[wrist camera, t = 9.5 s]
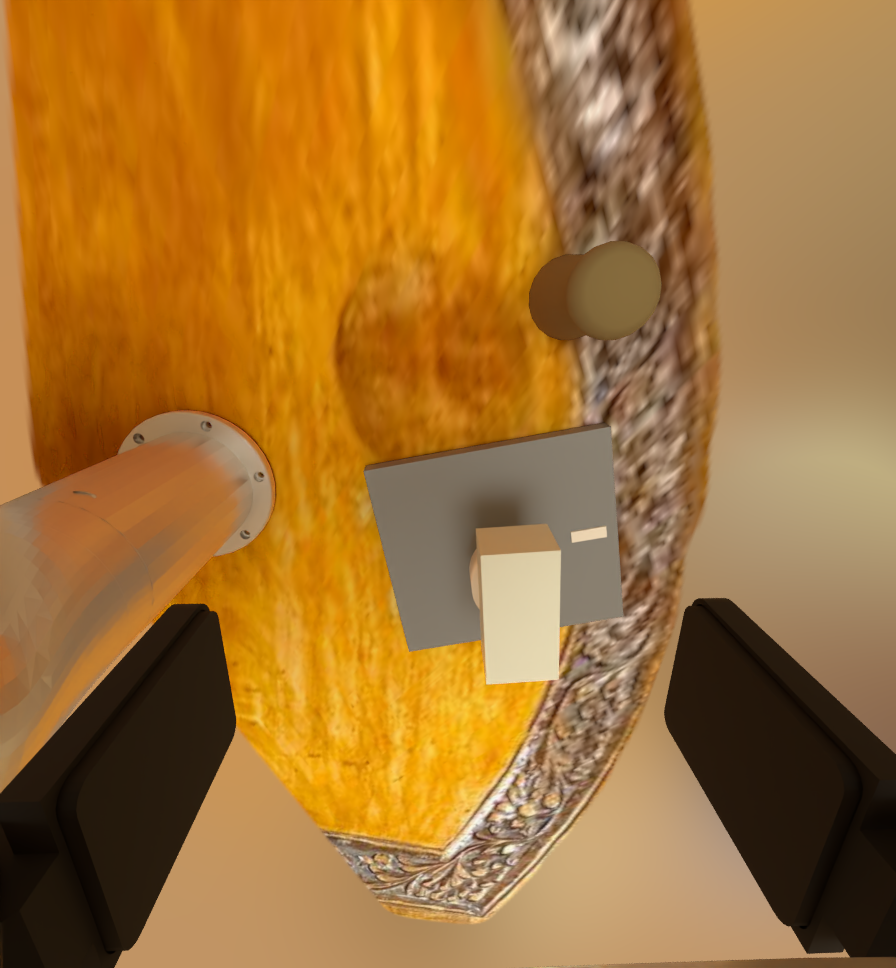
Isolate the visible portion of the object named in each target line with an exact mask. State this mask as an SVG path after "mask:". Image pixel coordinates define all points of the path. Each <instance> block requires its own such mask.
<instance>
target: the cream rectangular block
mask: <svg viewBox="0 0 896 968" xmlns="http://www.w3.org/2000/svg"><path fill="white" fill-rule="evenodd" d="M476 545H477V549H476V550H475V551H474V553H473V555H472V557H471V560H470V565H469V572H470V580H471V588H472V595H473V599H474V601H475V604H476V605H477V607H478V608H479V609H480V628H481V647H482V655H483V662H484V670H485V677H486V684H500V683H515V682H530V681H546V680H559V631H560V576H561V549H560V548H559V546H558V544H557V542H556V540H555V538H554V536H553V534H552V532H551V531H550V529H549V527H548V525H547V524H536V525H521V526H506V527H491V528H476Z"/></svg>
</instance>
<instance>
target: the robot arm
mask: <svg viewBox="0 0 896 968" xmlns="http://www.w3.org/2000/svg"><path fill="white" fill-rule="evenodd" d="M208 422H210V423H211V425H212V427H211V426H209V424H208ZM260 472H261V473H263V474H264V476H262V475H261V474H260ZM275 496H276V494H275V481H274V477H273V474H272V470H271V467H270V465H269V463H268V461H267V459H266V457H265V455H264V454H263V452H262V451H261V449H260V448H259V447H258V445H257V444H256V443H255V442H254V441H253V440H252V439H251V438H250V437H249V436H248V435H247V434H246V433H245V432H244V431H243V430H241V429H240V428H238V427H237V426H235V425H234V424H233V423H231V422H229V421H227V420H225V419H223V418H221V417H218V416H216V415H212V414H209V413H205V412H202V411H192V410H179V411H170V412H167V413H163V414H160V415H157V416H154V417H152V418H150V419H147V420H145V421H144V422H142V423H141V424H139V425H138V426H136V427H135V428H134V429H133V430H132V431H131V432H130V433H129V434H128V436H127V437H126V438H125V439H124V441H123V443H122V445H121V447H120V449H119V451H118V454H117V455H116V456H114V457H111V458H109V459H107V460H104V461H102V462H100V463H97V464H95V465H93V466H90V467H88V468H86V469H84V470H81V471H79V472H77V473H74V474H72V475H70V476H67V477H65V478H63V479H60V480H58V481H56V482H53V483H51V484H49V485H46V486H44V487H42V488H39V489H37V490H35V491H32V492H30V493H28V494H26V495H23V496H21V497H19V498H16V499H14V500H12V501H10V502H7V503H5V504H3V505H0V968H114V967H115V965H116V963H117V961H118V959H119V957H120V955H121V952H122V951H125V950H129V949H131V948H132V947H133V945H134V944H135V943H136V941H137V940H138V938H139V936H140V934H141V932H142V930H143V928H144V926H145V924H146V921H147V919H148V917H149V915H150V913H151V911H152V909H153V907H154V904H155V902H156V900H157V898H158V896H159V894H160V892H161V890H162V888H163V885H164V883H165V881H166V879H167V877H168V874H169V873H170V871H171V869H172V866H173V864H174V862H175V860H176V858H177V856H178V853H179V851H180V849H181V847H182V845H183V843H184V841H185V839H186V837H187V834H188V832H189V830H190V828H191V826H192V824H193V822H194V820H195V818H196V815H197V813H198V811H199V809H200V807H201V805H202V803H203V801H204V799H205V797H206V794H207V792H208V790H209V788H210V786H211V784H212V782H213V780H214V777H215V775H216V773H217V771H218V769H219V767H220V765H221V763H222V760H223V758H224V756H225V754H226V752H227V750H228V748H229V746H230V743H231V741H232V739H233V736H234V733H235V728H236V715H235V709H234V704H233V698H232V692H231V687H230V681H229V675H228V669H227V664H226V658H225V652H224V647H223V641H222V635H221V630H220V624H219V618H218V615H217V613H216V612H214V611H209V608H208V607H207V605H205V604H175V605H172V606H170V607H169V608H168V609H167V610H166V611H165V612H164V614H163V615H162V616H161V617H160V618H159V619H158V620H157V621H156V622H155V623H154V625H153V626H152V627H151V628H150V629H149V630H148V631H147V632H146V633H145V634H144V636H143V637H142V638H141V639H140V640H139V641H138V642H137V643H136V645H135V646H134V647H133V648H132V649H131V650H130V651H129V652H128V653H127V654H126V655H125V657H124V658H123V659H122V660H121V661H120V662H119V663H118V664H117V665H116V666H115V667H114V669H113V670H112V671H111V672H110V673H109V674H108V675H107V676H106V677H105V679H104V680H103V681H102V682H101V683H100V684H99V685H98V686H97V687H96V689H95V690H94V691H93V692H92V693H91V694H90V695H89V696H88V697H87V698H86V699H85V701H84V702H83V703H82V704H81V705H80V706H79V707H78V708H77V709H76V710H75V712H74V713H73V714H72V715H71V716H70V717H69V718H68V719H67V720H66V718H67V717H68V716H69V714H70V713H71V711H72V710H73V709H74V707H75V706H76V705H77V703H78V702H79V701H80V700H81V698H82V697H83V696H84V695H85V694H86V693H87V691H88V690H89V689H90V687H91V686H92V685H93V684H94V683H95V682H96V681H97V679H98V678H99V677H100V676H101V675H102V674H103V673H104V672H105V670H106V669H107V668H108V667H109V666H110V665H111V664H112V662H114V660H115V659H116V658H117V657H118V656H119V655H120V654H121V653H122V652H123V651H124V650H125V649H126V648H127V646H128V645H129V644H130V643H131V642H132V641H133V640H134V639H135V638H136V637H137V636H138V634H139V633H141V632H142V630H144V628H146V626H147V625H148V624H149V623H150V622H151V621H152V620H153V619H154V618H155V617H156V616H157V615H158V614H159V613H160V612H161V611H162V610H163V609H164V607H165V606H166V605H167V604H168V603H169V602H170V601H171V600H172V599H173V598H174V597H175V596H176V595H177V594H178V593H179V591H180V590H181V589H182V588H183V587H184V586H185V585H186V584H187V583H188V582H189V581H190V580H191V579H192V578H193V577H194V575H195V574H196V573H197V572H198V571H199V570H200V569H201V568H202V567H203V566H204V565H205V564H206V563H207V562H208V561H209V559H210V558H211V557H212V556H221V555H224V554H228V553H232V552H234V551H237V550H239V549H241V548H243V547H245V546H246V545H247V544H249V543H250V542H251V541H252V540H254V539H255V538H256V537H257V536H258V535H259V533H260V532H261V531H262V530H263V529H264V527H265V525H266V524H267V522H268V521H269V519H270V517H271V514H272V511H273V509H274V503H275ZM247 531H248V532H247ZM664 715H665V721H666V725H667V728H668V730H669V732H670V733H671V735H672V737H673V739H674V740H675V742H676V744H677V745H678V747H679V749H680V751H681V752H682V754H683V756H684V758H685V759H686V761H687V763H688V765H689V766H690V768H691V770H692V771H693V773H694V775H695V777H696V778H697V780H698V781H699V783H700V785H701V787H702V789H703V790H704V792H705V794H706V796H707V797H708V799H709V801H710V802H711V804H712V806H713V807H714V809H715V811H716V813H717V815H718V816H719V818H720V820H721V822H722V823H723V825H724V827H725V828H726V830H727V832H728V834H729V835H730V837H731V839H732V840H733V842H734V844H735V846H736V847H737V849H738V851H739V853H740V854H741V856H742V858H743V859H744V861H745V863H746V865H747V866H748V868H749V870H750V871H751V873H752V875H753V877H754V878H755V880H756V882H757V884H758V885H759V887H760V889H761V891H762V892H763V894H764V896H765V897H766V899H767V901H768V902H769V904H770V906H771V908H772V910H773V911H774V913H775V914H776V916H777V917H778V919H779V920H780V921H781V922H782V923H783V924H785V925H786V926H791V927H792V929H793V931H794V933H795V934H796V936H797V938H798V939H799V941H800V942H801V944H802V946H803V947H804V949H805V951H806V953H807V954H808V953H809V954H810V953H836V952H843V950H844V949H845V950H846V952H847V953H848V955H849V956H850V958H791V959H759V960H730V961H729V960H728V961H700V962H699V961H697V962H668V963H636V964H609V965H608V964H607V965H583V966H581V965H580V966H557V967H556V966H555V967H529V968H896V754H895V753H894V752H893V751H891V750H890V749H889V748H888V747H887V746H886V745H885V744H884V743H883V742H882V741H881V740H880V739H879V738H878V737H876V736H875V735H874V734H873V733H872V732H871V731H870V730H869V729H868V728H867V727H866V726H865V725H864V724H863V723H862V722H860V721H859V720H858V719H857V718H856V717H855V716H854V715H853V714H852V713H851V712H850V711H849V710H847V708H846V707H844V706H843V705H842V704H841V703H840V702H839V701H838V700H837V699H836V698H835V697H834V696H833V695H832V694H831V693H829V692H828V691H827V690H826V689H825V688H824V687H823V686H822V685H821V684H820V683H819V682H818V681H817V680H816V679H815V678H813V677H812V676H811V675H810V674H809V673H808V672H807V671H806V670H805V669H804V668H803V667H802V666H800V665H799V664H798V663H797V662H796V661H795V660H794V659H793V658H792V657H791V656H790V655H789V654H788V653H787V652H786V651H785V650H784V649H782V648H781V647H780V646H779V645H778V644H777V643H776V642H775V641H774V640H773V639H772V638H771V637H770V636H769V635H767V634H766V633H765V632H764V631H763V630H762V629H761V628H760V627H759V626H758V625H757V624H756V623H755V622H754V621H753V620H751V619H750V618H749V617H748V616H747V615H746V614H745V613H744V612H743V611H742V610H741V609H740V608H738V606H737V605H735V604H734V603H733V602H732V601H731V600H729V599H726V598H705V599H704V598H702V599H701V598H699V599H696V600H695V601H694V602H693V604H692V606H688V607H687V608H686V609H685V612H684V616H683V621H682V626H681V631H680V636H679V641H678V645H677V650H676V655H675V661H674V665H673V670H672V675H671V680H670V685H669V690H668V695H667V699H666V705H665V710H664ZM65 720H66V722H65V723H64V724H63V722H64V721H65ZM62 724H63V725H62ZM61 725H62V726H61ZM60 726H61V727H60Z"/></svg>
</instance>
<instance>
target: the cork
mask: <svg viewBox="0 0 896 968" xmlns="http://www.w3.org/2000/svg"><path fill="white" fill-rule="evenodd" d="M661 284H662V283H661V277H660V271H659V268H658V266H657V264H656V262H655V260H654V259H653V257H652V256H651V255H650V254H649V253H648V252H647V251H646V250H644V249H643V248H642V247H640V246H637V245H635V244H632V243H629V242H626V241H610V242H608V243H605V244H602V245H599V246H596V247H594V248H593V249H591V250H590V251H589V252H587V253H586V254H585V255H563V256H560V257H557V258H555V259H552V260H551V261H550V262H549V263H547V264H546V265H545V266H543V267H542V268H541V270H540V271H539V273H538V274H537V275H536V277H535V278H534V280H533V283H532V286H531V289H530V293H529V308H530V312H531V316H532V319H533V320H534V322H535V323H536V325H537V326H538V328H539V329H540V330H541V331H543V332H544V333H545V334H546V335H548V336H550V337H552V338H555V339H558V340H573V339H576V338H579V337H582V336H585V335H587V336H590V337H593V338H596V339H599V340H616V339H619V338H622V337H625V336H628V335H630V334H632V333H633V332H635V331H636V330H637V329H639V328H640V327H642V326H643V325H644V324H645V323H646V322H647V320H648V319H649V318H650V317H651V315H652V314H653V313H654V311H655V308H656V306H657V304H658V301H659V299H660V292H661Z"/></svg>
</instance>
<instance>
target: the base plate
mask: <svg viewBox="0 0 896 968" xmlns="http://www.w3.org/2000/svg"><path fill="white" fill-rule="evenodd" d="M364 475H365V479H366V483H367V487H368V491H369V495H370V499H371V503H372V507H373V511H374V515H375V518H376V522H377V526H378V530H379V534H380V538H381V542H382V546H383V550H384V554H385V558H386V562H387V566H388V570H389V574H390V578H391V582H392V586H393V590H394V593H395V597H396V601H397V605H398V609H399V613H400V617H401V621H402V625H403V629H404V633H405V637H406V641H407V645H408V649H409V652H410V651H416V650H422V649H428V648H434V647H441V646H447V645H453V644H459V643H465V642H471V641H477V640H481V628H480V609H479V608H478V607H477V605H476V604H475V601H474V599H473V595H472V588H471V580H470V572H469V565H470V560H471V557H472V555H473V553H474V551H475V550H476V549H477V545H476V528H491V527H506V526H521V525H536V524H547V525H548V527H549V529H550V531H551V532H552V534H553V536H554V538H555V540H556V542H557V544H558V546H559V548H560V549H561V576H560V627H563V626H569V625H575V624H581V623H587V622H594V621H600V620H606V619H612V618H618V617H623V605H622V589H621V574H620V559H619V544H618V529H617V513H616V498H615V483H614V468H613V453H612V437H611V426H609V425H607V424H606V423H600V424H594V425H589V426H583V427H578V428H572V429H567V430H561V431H556V432H550V433H544V434H539V435H533V436H528V437H522V438H517V439H511V440H506V441H500V442H494V443H489V444H483V445H478V446H472V447H467V448H461V449H456V450H450V451H445V452H439V453H433V454H428V455H422V456H417V457H411V458H406V459H400V460H395V461H389V462H383V463H378V464H372V465H367V466H366V467H365V469H364Z"/></svg>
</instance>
